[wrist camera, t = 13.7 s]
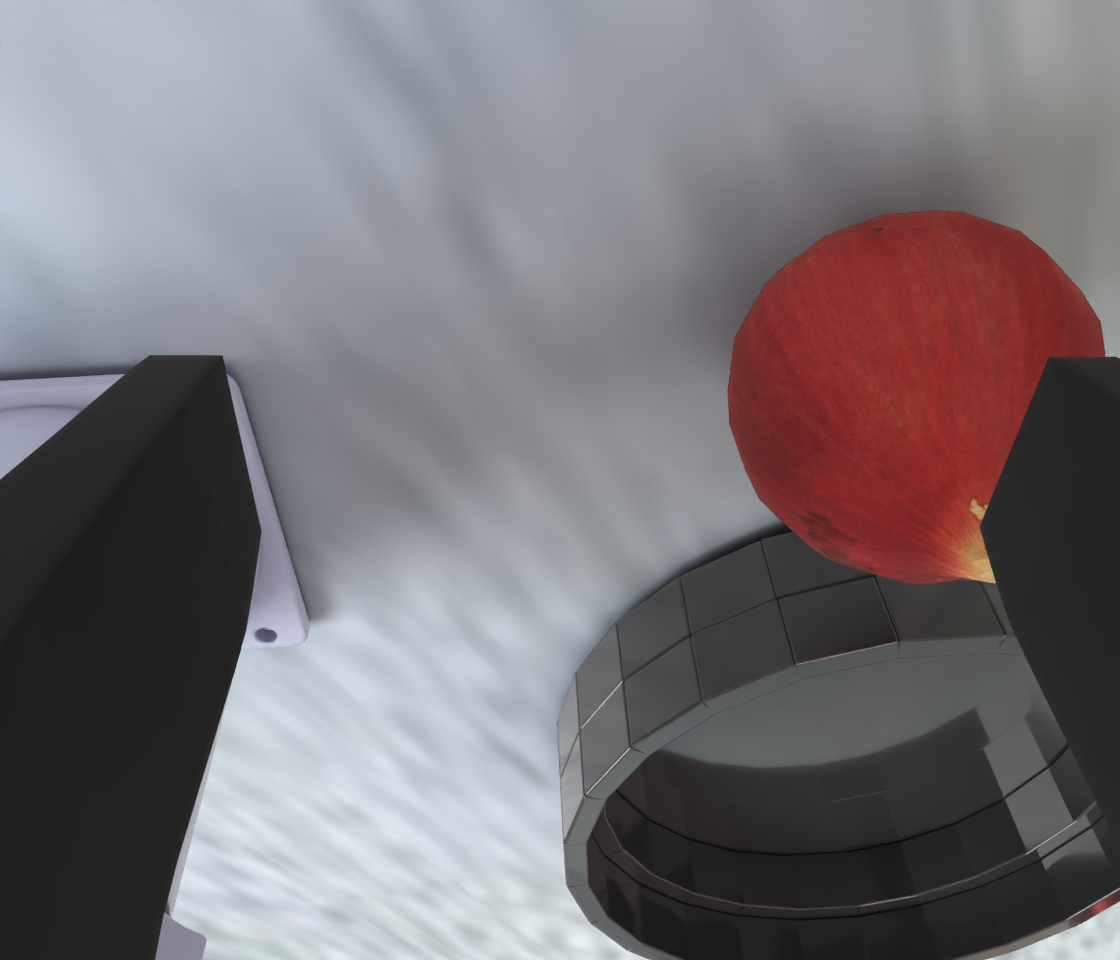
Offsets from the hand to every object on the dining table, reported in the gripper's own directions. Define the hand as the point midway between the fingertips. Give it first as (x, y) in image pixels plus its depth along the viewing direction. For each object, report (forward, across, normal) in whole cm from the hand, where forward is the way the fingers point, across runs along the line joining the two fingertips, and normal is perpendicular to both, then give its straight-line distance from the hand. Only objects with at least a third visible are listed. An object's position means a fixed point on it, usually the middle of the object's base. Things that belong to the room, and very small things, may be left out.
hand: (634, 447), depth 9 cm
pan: (+10, -8, +18) cm, 22 cm away
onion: (+10, -5, +4) cm, 12 cm away
